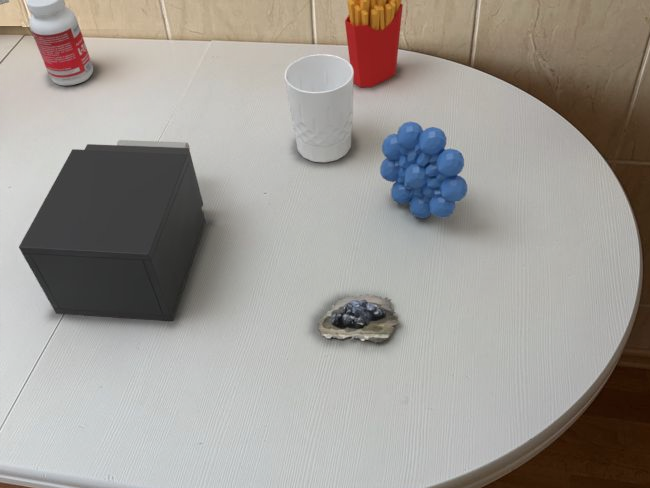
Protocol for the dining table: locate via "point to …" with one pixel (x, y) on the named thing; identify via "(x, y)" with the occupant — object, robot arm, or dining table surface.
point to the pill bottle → (59, 41)
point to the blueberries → (359, 319)
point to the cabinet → (117, 234)
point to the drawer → (150, 150)
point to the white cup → (321, 105)
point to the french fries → (373, 39)
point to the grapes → (423, 170)
